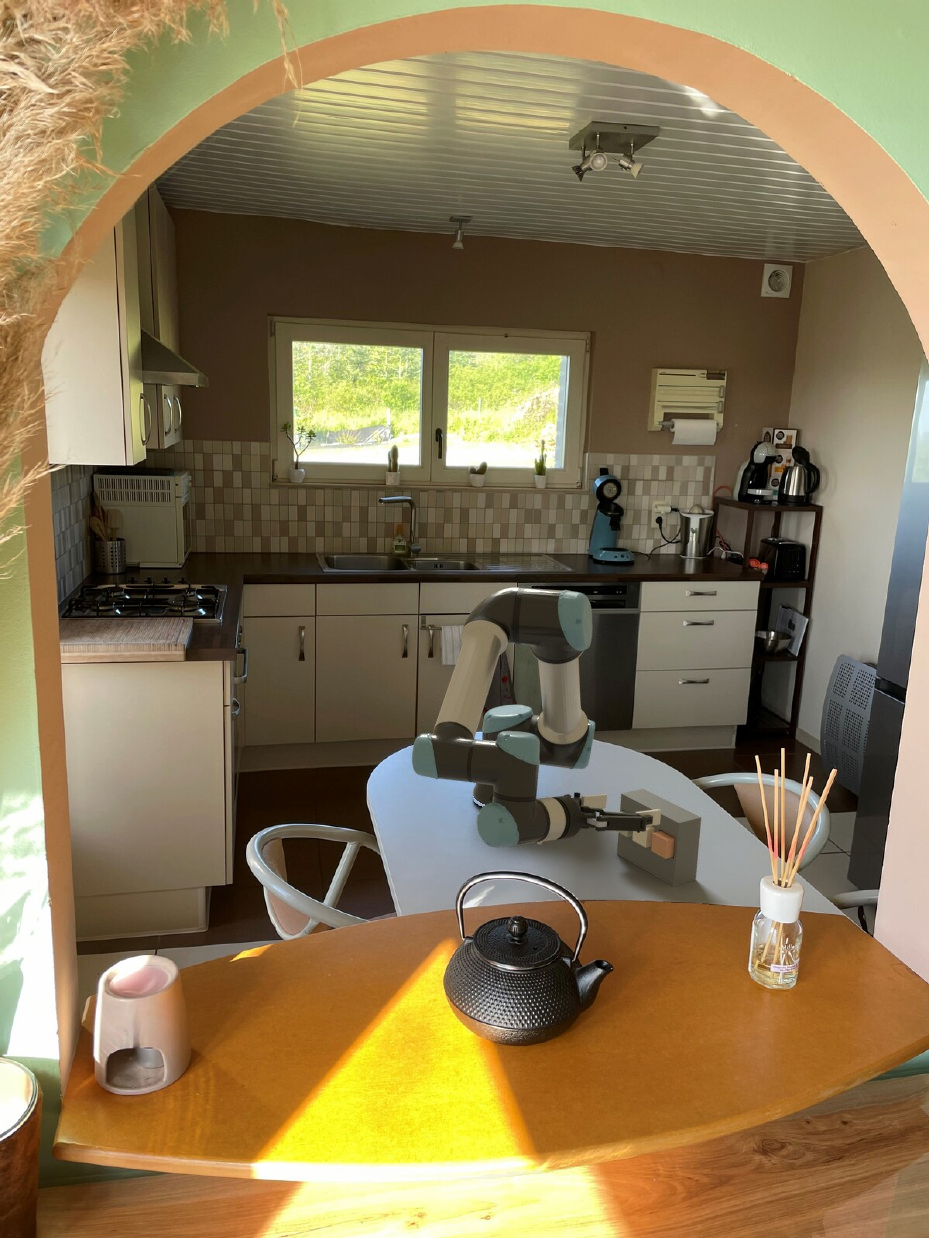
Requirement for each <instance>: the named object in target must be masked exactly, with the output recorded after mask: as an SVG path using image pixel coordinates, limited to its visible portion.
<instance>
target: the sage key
mask: <svg viewBox="0 0 929 1238" xmlns="http://www.w3.org/2000/svg"><path fill="white" fill-rule="evenodd" d="M618 813H628V812H626V811H621V812H620V811H618ZM616 832H618V833H621V834H622V835H624V836H626V837H630V836H633V831H616Z"/></svg>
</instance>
